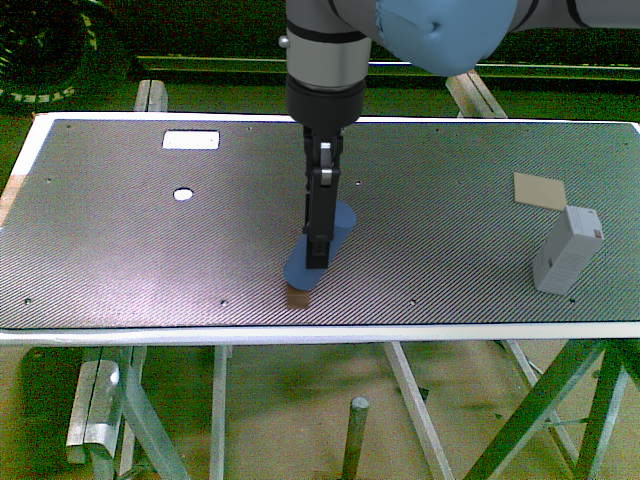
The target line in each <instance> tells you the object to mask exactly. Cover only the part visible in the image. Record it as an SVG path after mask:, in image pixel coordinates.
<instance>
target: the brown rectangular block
mask: <svg viewBox="0 0 640 480" xmlns="http://www.w3.org/2000/svg"><path fill="white" fill-rule="evenodd" d="M309 308H310V290H300V289H297V288H295V287H293V286H292V285H290V284H289V283H288V282H287V281H286V310H309Z"/></svg>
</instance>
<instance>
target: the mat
mask: <svg viewBox="0 0 640 480" xmlns="http://www.w3.org/2000/svg"><path fill="white" fill-rule="evenodd" d="M512 177H513V201H514V203H516V204H520V205H527V206H531V207H535V208H541V209H546V210H550V211H551V210H552V211H556V212H561V213H562V211H563V209H564V208H565V206H568V201H567V196H566V190H565V184H564V181H563V180H559V179H554V178H548V177H542V176H537V175H533V174H527V173H522V172H517V171H513V173H512Z"/></svg>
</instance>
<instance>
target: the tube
mask: <svg viewBox="0 0 640 480" xmlns="http://www.w3.org/2000/svg"><path fill="white" fill-rule="evenodd" d="M356 224H357V215H356V213H355V211H354V210H353V208H352V207H350V206H349V204H347V203H345V202H344V201H342V200H341V199H337V200H336V211H335V222H334V233H333V234H334V238H333V241H330V251H329V262H328V267H330V265H331V263H332V261H333V260H334V258H335V257H336V256H337V254H338V252H339V250H340V249H341V247H342V246H343V245H344V243H345V241H346V240H347V238H348V237H349V235H350V234H351V232H352V230H353V229H354V227H355V225H356ZM307 225H309V222H308V224H307ZM307 225H306V226H307ZM306 244H307V234H302V233H301V235H300V237H299V238H298V240H297V242H296V244H295V245H294V247H293V249H292V251H291V252H290V254H289V256H288V258H287V260H286V262H285V264H284V265H283V268H282V274H283V278H284V279H285V282H286V283H287V282H288V283H289V284H290V285H292V286H293V287H295V288H297V289H300V290H309V291H310V290H313V289H314V288H316V287H317V285H318V284H319V282H320V280H321V279H322V278H323V275H324V274H325V272H326V271H327V269H306Z"/></svg>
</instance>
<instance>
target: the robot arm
mask: <svg viewBox="0 0 640 480" xmlns="http://www.w3.org/2000/svg"><path fill="white" fill-rule="evenodd" d="M285 15H286V17H285V19H286V22H285V23H286V29H285V30H286V31H285V32H286V35H280V37H279V38H278V45H279V46H280V47H281V48H283V49H285V48H286V57H285V59H286V60H285V61H286V63H285V64H286V67H285V68H286V71H287V72H288V73H287V74H286V76H285V110H286V112H287V115H288V116H289V117H290V118H291V119H292V120H293V121H294V122H295V123H297V124H299V125H302V138H303V151H304V155H305V171H304V176H305V178H306V183H305V190H306V192H307V193H305V201H304V203H305V205H304V226H301V227H302V228H301V229H302V230H301V235H302V234H307V244H306V269H326V270H329V266H328V262H329V251H330V241H333V238H334V234H333V233H334V222H335V211H336V200H338V188H339V182H340V177H341V176H342V170H341V167H340V165H341V164H340V163H341V155H342V154H343V152H344V135H343V134H342V129H344V128H346V127H349V126H351V125H354V124H355V123H356V122H357V121H358V120H360V118H361V117H362V114H363V111H364V101H365V94H366V86H367V82H366V79H365V77H367V75H368V72H369V65H370V64H369V63H370V57H371V50H372V41H374V42H375V43H377V44H378V45H379V46H381V47H383V48H384V49H385V50H387V51H388V52H390V53H391V54H392V55H393V56H394V57H396V58H397V59H399V60H401V61H402V62H404V63H409V64H411V65H412V66H414V67H419V68H421V69H423V70H425V71H427V72H428V73H430V74H433V75H435V76H439V77H444V78H452V77H458V76H461V75H464V74H465V75H466V74H467V73H469V72H471V71H472V70H474V69H475V68H476V66H477V64H478V62H479V61H481V60H485V59H488V58H489V57H490V56H491V55H492V54H493V53H494V51H495V50H497V48H498V47H499V45H500V44H501V42H502V41H503V39H504V38H505V36H506V35H509V34H512V33H516V32H517V33H518V32H522V31H526V30H531V29H539V28H540V29H541V28H542V29H543V28H558V29H560V28H561V29H591V28H592V29H595V28H603V29H604V28H607V29H634V30H635V29H639V30H640V0H285ZM308 192H309V193H308ZM308 222H309V225H307V224H308ZM306 225H307V226H306Z"/></svg>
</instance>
